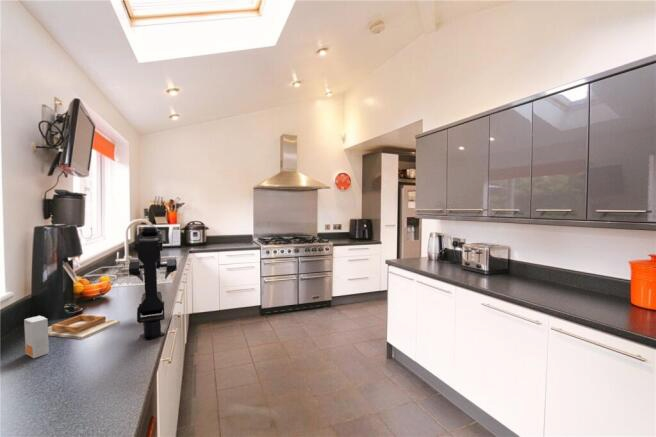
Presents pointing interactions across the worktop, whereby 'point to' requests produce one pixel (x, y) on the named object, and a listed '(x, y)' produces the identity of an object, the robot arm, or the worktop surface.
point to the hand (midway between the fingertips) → (154, 279)
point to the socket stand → (81, 326)
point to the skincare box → (36, 336)
